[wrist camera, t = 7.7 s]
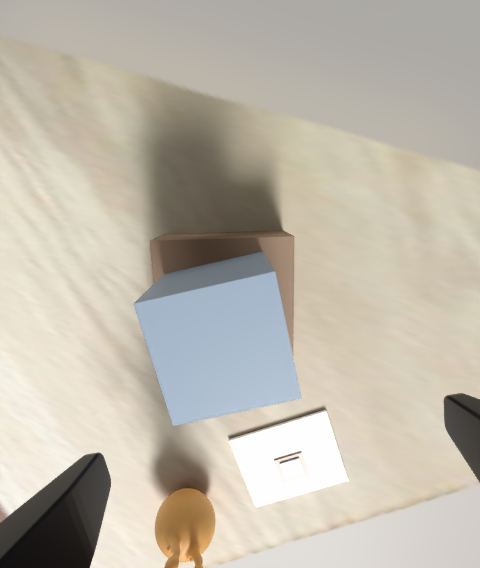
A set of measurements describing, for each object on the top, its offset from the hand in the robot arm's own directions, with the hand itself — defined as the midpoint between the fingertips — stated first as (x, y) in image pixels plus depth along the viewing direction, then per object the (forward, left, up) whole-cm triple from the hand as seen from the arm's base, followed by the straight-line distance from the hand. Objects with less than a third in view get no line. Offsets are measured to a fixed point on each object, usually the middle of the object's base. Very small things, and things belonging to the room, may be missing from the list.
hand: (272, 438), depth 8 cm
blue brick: (+1, -1, -9) cm, 9 cm away
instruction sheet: (-1, +12, -12) cm, 17 cm away
